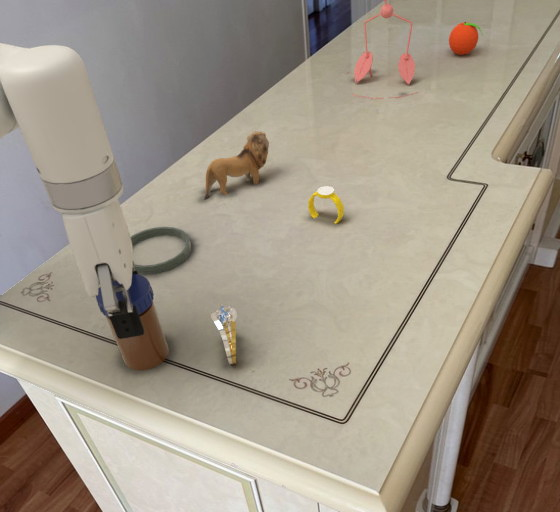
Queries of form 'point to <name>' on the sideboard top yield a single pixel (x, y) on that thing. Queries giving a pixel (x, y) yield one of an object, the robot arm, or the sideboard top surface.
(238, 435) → the sideboard top surface
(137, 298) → the lid
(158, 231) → the grey-green bangle
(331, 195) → the watch
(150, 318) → the jar
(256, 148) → the lion figurine
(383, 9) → the balance scale
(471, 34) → the clementine
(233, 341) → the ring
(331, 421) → the sideboard top surface
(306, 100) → the sideboard top surface
